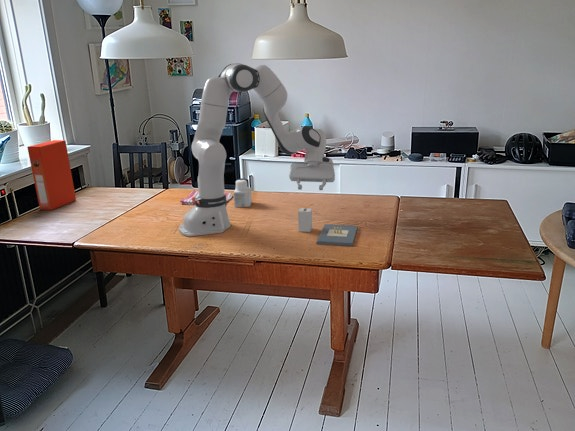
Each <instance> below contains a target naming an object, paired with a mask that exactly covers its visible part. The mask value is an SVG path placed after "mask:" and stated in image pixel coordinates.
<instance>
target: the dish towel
mask: <svg viewBox="0 0 575 431" xmlns="http://www.w3.org/2000/svg"><path fill="white" fill-rule="evenodd" d="M225 194H226V200H227V202H229V201H230V200H231V199H232V198H234V193H231V192H225ZM198 196H199V190H194V189H193V190H192V191H191V192H190V193H189V195H187V196H186V197H184V198H181V199H180V200H179V201H180V203H181V205H185V206H186V205H189V206H195V202H193V201H192V197H196V198H197V197H198Z"/></svg>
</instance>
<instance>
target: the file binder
mask: <svg viewBox="0 0 575 431" xmlns="http://www.w3.org/2000/svg"><path fill="white" fill-rule="evenodd" d="M26 148H27V154H28V157H29V162H30V167H31V172H32V177H33V181H34V187H35V192H36V195H37V196H36V197H37V201H38V206H39V209H40V210H45V211H53V210H55V209H58V208H61V207H63V206H65V205H68V204H71V203H72V202H75V201H77V196H76V190H75V186H74V185H75V184H74V181H73V174H72V169H71V164H70V157H69V154H68V153H69V152H68V148H67V142H66V140H64V139H63V140H60V139H58V140H57V139H52V140H49V141H45V142H42V143H37V144H33V145H29V146H27V147H26Z"/></svg>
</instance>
